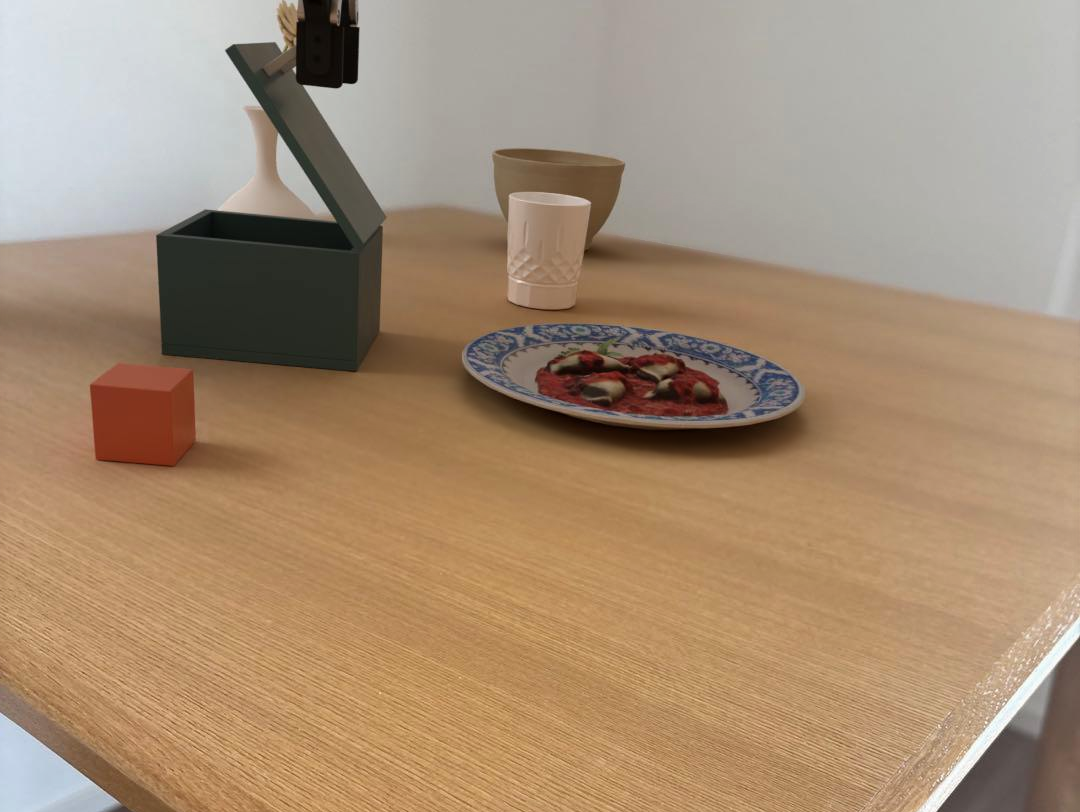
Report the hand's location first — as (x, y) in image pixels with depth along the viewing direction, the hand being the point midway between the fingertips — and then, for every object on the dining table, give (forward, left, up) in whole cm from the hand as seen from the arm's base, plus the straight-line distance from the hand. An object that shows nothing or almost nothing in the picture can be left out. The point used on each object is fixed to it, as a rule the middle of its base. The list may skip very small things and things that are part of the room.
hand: (328, 81), depth 82 cm
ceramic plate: (+24, -6, -20) cm, 32 cm away
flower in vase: (-15, +47, -20) cm, 53 cm away
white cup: (+17, +23, -20) cm, 35 cm away
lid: (-1, 0, -5) cm, 5 cm away
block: (-6, -26, -20) cm, 33 cm away
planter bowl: (+18, +55, -20) cm, 61 cm away
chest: (-4, 0, -20) cm, 20 cm away
